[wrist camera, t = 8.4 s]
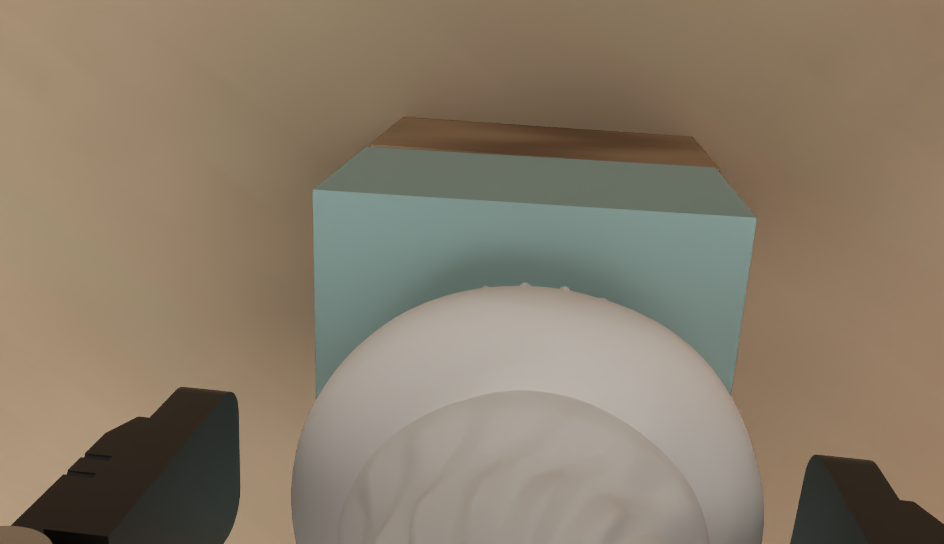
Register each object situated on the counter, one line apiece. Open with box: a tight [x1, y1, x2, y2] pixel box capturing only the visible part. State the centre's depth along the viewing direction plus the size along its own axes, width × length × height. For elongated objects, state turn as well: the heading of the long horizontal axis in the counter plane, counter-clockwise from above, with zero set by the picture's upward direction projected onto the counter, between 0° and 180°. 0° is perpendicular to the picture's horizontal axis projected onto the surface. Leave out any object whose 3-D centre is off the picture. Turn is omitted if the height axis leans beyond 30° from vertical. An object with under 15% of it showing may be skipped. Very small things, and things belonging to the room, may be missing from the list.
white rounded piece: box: [291, 283, 764, 544], centre depth 12 cm, size 6×6×7 cm
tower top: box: [313, 147, 757, 399], centre depth 17 cm, size 7×7×4 cm
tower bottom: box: [370, 117, 720, 172], centre depth 21 cm, size 7×7×4 cm
